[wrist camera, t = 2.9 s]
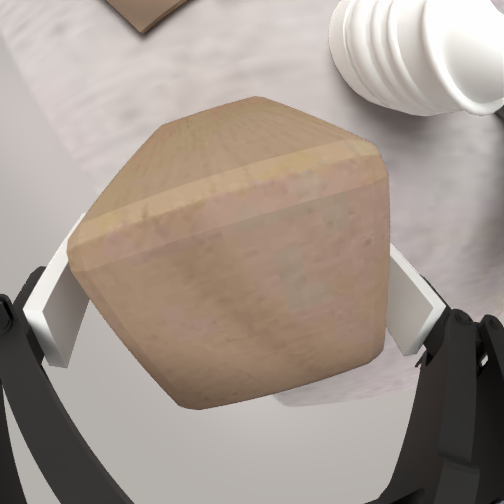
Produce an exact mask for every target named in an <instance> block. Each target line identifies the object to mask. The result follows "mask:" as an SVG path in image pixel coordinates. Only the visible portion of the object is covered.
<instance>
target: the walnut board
mask: <svg viewBox="0 0 504 504" xmlns="http://www.w3.org/2000/svg"><path fill="white" fill-rule="evenodd" d="M106 1H107V2H109V3H110V4H111V5H112V6H113V7H114V8H115V9H116V10H117V11H118V12H119V13H120V14H121V15H122V16H123V17H125V18H126V19H127V20H128V21H129V22H130V23H131V24H132V25H133V26H134V27H135V28H136V29H137V30H138V31H139V32H140V33H142V34H143V35H144V34H145V33H146V32H147V31H149V30H150V29H151V28H152V27H153V26H155V25H156V24H157V23H158V22H160V21H161V20H162V19H163V18H165V17H166V16H167V15H168V14H170V13H171V12H172V11H174V10H175V9H176V8H178V7H179V6H181V5H182V4H183V3H185V2H186V1H188V0H106Z"/></svg>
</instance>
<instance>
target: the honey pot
mask: <svg viewBox="0 0 504 504" xmlns="http://www.w3.org/2000/svg"><path fill="white" fill-rule="evenodd" d="M328 33H329V48H330V51H331V54H332V57H333V61H334V64H335V66H336V67H337V69H338V71H339V72H340V74H341V76H342V78H343V79H344V80H345V81H346V83H347V84H348V85H349V86H350V87H351V88H352V89H353V90H354V91H355V92H356V93H357V94H359V95H360V96H362V97H363V98H365V99H366V100H367V101H369V102H372V103H375V104H377V105H380V106H383V107H386V108H390V109H393V110H397V111H400V112H404V113H408V114H410V115H419V116H432V115H437V114H442V113H445V112H450V113H452V112H457V111H462V110H465V111H466V112H468V113H470V114H475V115H479V116H484V115H489V114H492V113H494V112H495V111H497V110H498V109H500V108H501V107H502V106H503V105H504V15H503V14H501V13H500V12H498V11H497V9H496V8H495V7H494V5H493V4H492V3H491V2H490V1H489V0H342V1H341V2H339V4H338V6H337V7H336V9H335V11H334V12H333V14H332V16H331V21H330V25H329V30H328Z"/></svg>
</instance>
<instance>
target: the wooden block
mask: <svg viewBox="0 0 504 504" xmlns="http://www.w3.org/2000/svg"><path fill="white" fill-rule="evenodd" d="M66 253H67V257H68V261H69V264H70V268H71V272H72V273H73V275H74V276H75V278H76V279H77V281H78V282H79V284H80V285H81V287H82V288H83V290H84V291H85V293H86V294H87V296H88V297H89V298H90V300H91V301H92V303H93V304H94V305H95V307H96V308H97V309H98V311H99V312H100V314H101V315H102V316H103V318H104V319H105V320H106V322H107V323H108V324H109V326H110V327H111V328H112V330H113V331H114V332H115V333H116V335H117V336H118V337H119V339H120V340H121V341H122V342H123V344H124V345H125V346H126V347H127V348H128V350H129V351H130V352H131V353H132V354H133V356H134V357H135V358H136V359H137V360H138V362H139V363H140V364H141V365H142V366H143V368H144V369H145V370H146V371H147V372H148V373H149V374H150V375H151V377H152V378H153V379H154V380H155V381H156V382H157V383H158V384H159V385H160V386H161V387H162V388H163V390H164V391H165V392H166V393H167V394H168V395H169V396H170V397H171V398H172V399H173V400H174V401H175V402H176V403H177V404H178V405H179V406H181V407H184V408H187V409H195V410H202V409H208V408H213V407H218V406H223V405H228V404H233V403H237V402H242V401H246V400H251V399H255V398H259V397H263V396H267V395H271V394H275V393H279V392H282V391H286V390H290V389H293V388H297V387H300V386H303V385H307V384H310V383H313V382H316V381H320V380H323V379H326V378H329V377H332V376H335V375H338V374H341V373H343V372H346V371H349V370H352V369H355V368H357V367H360V366H363V365H365V364H368V363H369V362H371V361H372V360H373V359H375V358H376V357H377V356H378V355H379V354H380V353H381V352H382V350H383V347H384V338H385V329H386V318H387V306H388V291H389V270H390V200H389V179H388V173H387V170H386V168H385V165H384V162H383V160H382V157H381V155H380V153H379V152H378V150H377V148H376V147H375V145H374V144H373V143H371V142H369V141H367V140H365V139H363V138H361V137H358V136H356V135H354V134H352V133H350V132H348V131H346V130H344V129H341V128H339V127H337V126H335V125H332V124H330V123H328V122H326V121H323V120H321V119H319V118H316V117H314V116H311V115H309V114H306V113H304V112H302V111H299V110H296V109H294V108H291V107H289V106H286V105H283V104H281V103H278V102H275V101H272V100H269V99H267V98H263V97H256V96H254V97H251V98H247V99H243V100H239V101H236V102H232V103H228V104H225V105H222V106H218V107H215V108H212V109H208V110H205V111H202V112H199V113H196V114H193V115H190V116H187V117H184V118H181V119H178V120H175V121H173V122H170V123H167V124H164V125H162V126H161V127H160V128H158V129H157V130H156V131H155V132H154V133H153V134H152V135H151V136H150V137H149V139H148V140H147V141H146V142H145V143H144V144H143V145H142V146H141V147H140V148H139V149H138V151H137V152H136V153H135V154H134V155H133V156H132V157H131V159H130V160H129V161H128V162H127V163H126V164H125V165H124V167H123V168H122V169H121V170H120V171H119V173H118V174H117V175H116V176H115V177H114V179H113V180H112V181H111V182H110V184H109V185H108V186H107V187H106V189H105V190H104V191H103V192H102V194H101V195H100V196H99V197H98V199H97V200H96V201H95V203H94V204H93V205H92V207H91V208H90V209H89V211H88V212H87V213H86V215H85V216H84V217H83V219H82V220H81V222H80V223H79V224H78V226H77V227H76V229H75V230H74V231H73V233H72V234H71V236H70V237H69V239H68V242H67V251H66Z"/></svg>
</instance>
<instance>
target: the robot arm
mask: <svg viewBox="0 0 504 504" xmlns="http://www.w3.org/2000/svg"><path fill="white" fill-rule="evenodd" d="M495 112H496V113H497V114H498V115H499V116H500V117H501V118H503V119H504V105H503V106H502V107H501V108H500V109H498V110H497V111H495ZM85 215H86V213H83V214H82V215H81V217H80V218H79V219H78V221H77V222H76V223H75V225H74V226H73V228H72V229H71V231H70V232H69V234H68V235H67V236H66V238H65V240H64V241H63V242H62V244H61V245H60V247H59V248H58V250H57V252H56V253H55V255H54V256H53V258H52V260H51V261H50V263H49V264H48V266H47V267H43V266H40V267H38V268H37V269H36V270H35V271H34V272H32V273H31V274H30V276H29V278H28V279H27V281H26V284H24V286H23V287H22V291H20V292H19V294H18V296H17V298H16V299H15V301H14V303H13V305H12V303H11V300H10V299H9V297H8V296H7V295H4V294H0V504H27V502H26V499H25V496H24V493H23V489H22V486H21V483H20V479H19V476H18V472H17V468H16V465H15V460H14V456H13V452H12V447H11V443H10V438H9V432H8V426H7V420H6V413H5V407H4V397H3V388H4V391H5V394H6V396H7V399H8V402H9V404H10V407H11V410H12V412H13V415H14V417H15V419H16V422H17V424H18V426H19V429H20V431H21V433H22V435H23V437H24V439H25V442H26V444H27V446H28V448H29V449H30V452H31V454H32V456H33V457H34V459H35V461H36V463H37V465H38V467H39V469H40V470H41V472H42V474H43V475H44V477H45V479H46V481H47V482H48V484H49V486H50V487H51V489H52V491H53V492H54V494H55V495H56V497H57V498H58V500H59V501H60V503H61V504H134V503H133V502H132V500H130V498H129V497H128V496H127V495H126V494H125V492H124V491H123V490H122V489H121V488H120V487H119V485H118V484H117V483H116V482H115V480H114V479H113V478H112V477H111V475H110V474H109V473H108V472H107V470H106V469H105V468H104V467H103V465H102V464H101V462H100V461H99V460H98V458H97V457H96V456H95V454H94V453H93V451H92V450H91V449H90V447H89V446H88V444H87V443H86V441H85V440H84V438H83V437H82V435H81V434H80V432H79V431H78V429H77V427H76V426H75V424H74V423H73V421H72V420H71V418H70V416H69V414H68V413H67V411H66V409H65V408H64V406H63V404H62V403H61V401H60V399H59V397H58V395H57V393H56V392H55V390H54V388H53V386H52V384H51V382H50V380H49V378H48V376H47V374H46V372H45V370H44V368H43V366H42V365H41V363H42V360H43V358H44V356H45V358H46V360H47V362H48V363H49V365H50V366H56V367H63V368H67V367H68V364H69V360H70V357H71V354H72V350H73V347H74V344H75V341H76V337H77V334H78V331H79V328H80V325H81V322H82V319H83V317H84V313H85V311H86V308H87V305H88V302H89V300H90V298H89V297H88V296H87V294H86V293H85V291H84V290H83V288H82V287H81V285H80V284H79V282H78V281H77V279H76V278H75V276H74V275H73V273H72V272H71V268H70V264H69V261H68V257H67V253H66V251H67V242H68V239H69V237H70V236H71V234H72V233H73V231H74V230H75V229H76V227H77V226H78V224H79V223H80V222H81V220H82V219H83V217H84V216H85ZM386 327H387V329H388V331H389V332H390V334H391V336H392V337H393V339H394V341H395V342H396V344H397V346H398V347H399V349H400V351H401V352H402V354H403V356H408V355H412V354H417V352H418V351H419V349H420V348H421V346H422V345H423V344H424V346H425V347H426V351H425V352H424V353H423V355H422V356H421V358H420V359H419V361H418V362H417V363H416V365H415V367H418V365H419V364H421V367H420V374H419V380H418V385H417V390H416V395H415V399H414V403H413V408H412V412H411V416H410V420H409V424H408V428H407V431H406V435H405V438H404V442H403V445H402V448H401V452H400V455H399V458H398V461H397V464H396V467H395V470H394V473H393V476H392V478H391V481H390V483H389V485H388V486H387V488H386V489H385V490H384V491H383V493H382V494H381V495H380V497H379V498H378V499H376V500H373V501H371V502H368V503H365V504H504V327H503V325H502V324H501V322H500V321H499V320H498V319H497V318H496V317H495V316H492V315H484V317H483V318H482V320H481V322H480V323H478V322H473V320H472V319H471V317H470V316H469V315H468V314H467V313H465V312H464V311H462V310H459V309H453V310H452V309H451V308H450V307H449V306H448V304H447V303H446V302H445V301H444V300H443V298H442V297H441V296H440V295H439V294H438V292H436V290H435V289H434V288H433V286H431V284H430V283H429V282H428V281H427V280H426V278H424V277H423V276H422V275H420V274H419V273H418V272H417V271H416V270H415V269H414V268H413V266H412V265H411V264H410V263H409V262H408V261H407V260H406V259H405V258H404V256H403V255H402V254H401V253H400V252H399V251H398V250H397V249H396V248H395V247H394V246H393V245H392V244H391V242H390V270H389V291H388V306H387V318H386ZM486 355H487V356H488V361H487V362H486V363H485V365H484V366H482V363H481V361H482V360H483V359H484V358H485V356H486ZM2 385H3V387H2Z"/></svg>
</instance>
